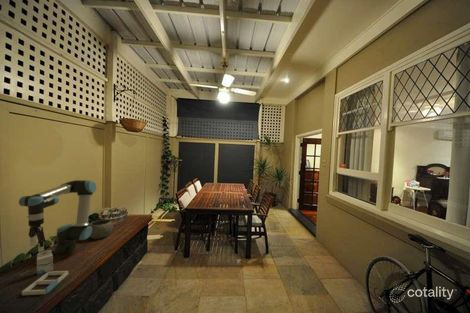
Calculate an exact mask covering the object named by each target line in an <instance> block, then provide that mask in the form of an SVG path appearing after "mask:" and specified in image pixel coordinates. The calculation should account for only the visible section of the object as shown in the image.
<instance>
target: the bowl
mask: <svg viewBox="0 0 470 313" xmlns="http://www.w3.org/2000/svg"><path fill="white" fill-rule="evenodd" d="M90 226H91V227H92V233H91V235H90V236H89V237H88V238H91V239H93V240H96V239H97V240H98V239H102V238H106V237H107V236H109V235H110V234H111V233H112V231H113V230H114V229H113V228H114V226H113V221H112V220H110V219H101V220H95V221H92V222H91V223H90Z"/></svg>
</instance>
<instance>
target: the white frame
mask: <svg viewBox="0 0 470 313" xmlns="http://www.w3.org/2000/svg"><path fill="white" fill-rule="evenodd" d="M68 275H69V270H57V271H56V270H55V271H54V270H51V271H48V272H45V273H44V275H42V276H41V277H39V278H38V279H37V280H35V281H34V282H32V284H30V285H28V286H27V287H26V288H25V289H23V290H22V291H21V296H32V295H33V296H34V295H35V296H36V295H46V294H48V293H49V292H51V291H52V290H53V289H54V288H55V287H57V286H58V284H59V283H60V282H61V281H62V280H63V279H64V278H66V277H67V276H68ZM49 276H59V277H58V278H56V279H47V278H48V277H49ZM38 285H40V286H41V285H47V287H45V289H33V288H34V287H36V286H38Z"/></svg>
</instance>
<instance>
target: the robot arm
mask: <svg viewBox="0 0 470 313" xmlns="http://www.w3.org/2000/svg"><path fill="white" fill-rule="evenodd" d="M96 191H97V184H96V183H95V181H94V180H89V179H87V180H83V179H81V180H79V179H77V180H72V181H71V180H70V181H67V182H64V183H61V184H60V185H59V186H56V187H52V188H50V189H47V190H45V191H42V192H38V193H36V194H32V195H24V196H21V197H20V198H19V200H18V205H19V206H20V207H27V209H28V210H27V212H28V213H27V215H28V216H27V218H28V227H29V230H28V236H29V246H30V248H32V247H35V246H36V245H37V251H38V253H41V252H44V251H45V245H44V244H45V242H46V237H45V233H44V227H43V226H41V225H43V224H44V223H45V218H44V217H45V210H44V209H46V208H48V207H49V208H50V207H51V206H54V205H56V204H58V203H59V201H60V199H59V198H60V197H59V196H61V195H67V194H72V193H74V194H75V193H76V194H77V197H78V206H77V212H76V213H77V214H76V222H75V224H74V223H69V224H64V225H61V226H59V227H58V228H57V230H56V246H55V248H54V252H53V253H54V255H55V256H60V255H66V254H69V253H72V252H74V251H75V250H76V249H77V245H76V243H75V241H84V240H87V239H88V238H90V237H89V236H90V235H91V233H92V227H91V226H90V224H91V223H90V222H89V215H90V207H91V206H90V205H91V204H90V203H91V197H92V196H93V195H94V193H95V192H96ZM36 239H37V240H38V242H37V240H36ZM36 243H37V244H36Z"/></svg>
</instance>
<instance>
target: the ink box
mask: <svg viewBox="0 0 470 313" xmlns="http://www.w3.org/2000/svg"><path fill="white" fill-rule="evenodd" d="M53 261H54V255H53V253H52V249H49V250H43V251H41V252H38V253H37V254H36V274H37V276H39V275H42V274H46V273H47V272H51V271H54V262H53Z"/></svg>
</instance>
